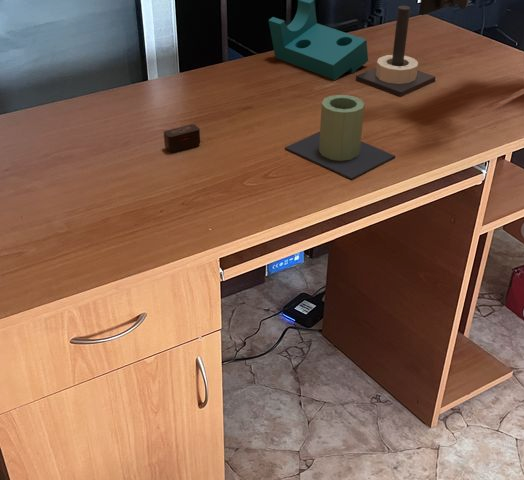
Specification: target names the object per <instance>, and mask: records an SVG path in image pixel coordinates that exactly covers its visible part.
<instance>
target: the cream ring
mask: <svg viewBox="0 0 524 480" xmlns="http://www.w3.org/2000/svg"><path fill="white" fill-rule="evenodd" d="M392 57H393V54H386V55H383V56H381V57H379V58H378V59H377V61H376V67H375V68H376V77H377V78H378V79H379V80H381V81H384V82H387V83H393V84H404V83H410V82H412V81H414V80H415V79H416V76H417V70H418V68H419V61H417V60H416V58H414V57H411V56H408V55H404V62H403V66H392Z"/></svg>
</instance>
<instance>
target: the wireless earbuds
mask: <svg viewBox="0 0 524 480" xmlns="http://www.w3.org/2000/svg"><path fill="white" fill-rule="evenodd" d="M163 141H164V143H163V144H164V148H165V149H166V150H167V151H168V152H170V153H177V152H179V151H183V150H188V149H191V148H194V147H198V146H200V145H201V129H200V127H198V125H196V124H195V123H194V124H193V123H192V124H187V125H183V126H179V127H175V128H171V129H166V130H164V131H163Z"/></svg>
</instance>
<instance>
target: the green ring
mask: <svg viewBox="0 0 524 480" xmlns="http://www.w3.org/2000/svg"><path fill="white" fill-rule="evenodd" d="M320 108H321V109H320V110H321V111H320V125H319V132H320V141H319V152H320V153H321V155H322V156H324V157H326V158H328V159H331V160H338V161H343V160H351V159H353V158H355V157H357V156H358V155H359V153H360V147H361V141H362V137H363V136H362V135H363V125H364V113H365V102H364V101H363V100H362V99H361V98H360V97H356V96H353V95H347V94H335V95H329V96H327V97H325V98H324V99H323V100H322V102H321V107H320Z"/></svg>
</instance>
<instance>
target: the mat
mask: <svg viewBox="0 0 524 480" xmlns="http://www.w3.org/2000/svg"><path fill="white" fill-rule="evenodd" d="M319 141H320V131H317V132H315V133H314V134H311V135H308V136H307V137H305V138H302V139H300V140H298V141H296V142H294V143H292V144H289V145H287V146H285V147H284V150H285V151H288V152H290V153H292V154H293V155H297V156H299V157H301V158H302V159H305V160H307V161H310V162H311V163H314V164H315V165H318V166H320V167H321V168H324V169H327V170H328V171H331V172H333V173H335V174H337V175H339V176H342V177H344V178H346V179H348V180H350V181H353V180H355V179H357V178H358V177H360V176H362V175H365V174H367V173H368V172H371V171H372V170H374V169H377V168H378V167H380V166H383V165H384V164H386V163H388V162H390V161H392V160H393V159H396V155H395V154H393V153H390V152H388V151H385V150H383V149H380V148H378V147H377V146H376V147H375V146H373V145H372V144H368V143H366V142H364V141H362V140H361V147H360V153H359V155H358V156H357V157H355V158H353V159H351V160H343V161H338V160H331V159H328V158H326V157H324V156H322V155H321V153H320V152H319Z"/></svg>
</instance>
